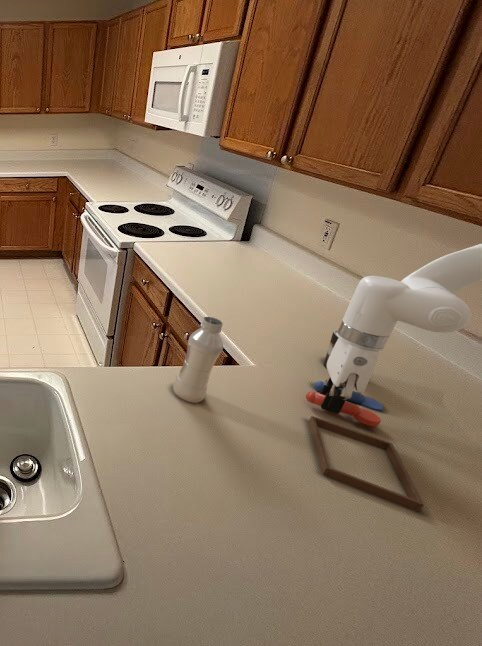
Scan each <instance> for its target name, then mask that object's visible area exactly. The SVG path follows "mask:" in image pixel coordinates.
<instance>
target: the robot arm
mask: <svg viewBox="0 0 482 646" xmlns="http://www.w3.org/2000/svg"><path fill="white" fill-rule="evenodd" d="M479 283H482V243H478V244H476V245H472V246H470V247H467V248H464V249H460V250H457V251H454V252H451V253H448V254H445V255H443V256H441V257H438V258H437V259H434V260H432V261H431V262H429V263H427V264H425V265H424V266H422V267H420V268H418V269H417V270H415V271H413V272H412V273H410V274H408V275H407V276H406V277H404V278H403V279H402V280H397V279H394V278H391V277H386V276H381V275H366V276H364V277H362V278H361V279H360V281H359V282H358V284H357V286H356V289H355V291H354V293H353V295H352V297H351V300H350V301H349V304H348V306H347V308H346V311H345V313H344V315H343V318H342V320H341V322H340V324H339V326H338V328H337V329H338V331H337V333H336V335H337V337H338V340H337V342H336V344H335V346H334V347H333V349H332V352H331V354H330V356H329V358H328V361H327V369H326V370H327V373H328V375H327V377H326V379H325V381H324V382H325V384H326V385H324V386H323V388H322V390H321V392H319V393H320V394H323V395H326V396H325V398H324V400H323V403H322V405H321V406H320V408H321V409H322V410H323V411H326V412H330V413H333V414H336V415H339V414H340V413H341V412H340V411H341V409H342V407H343V405H344V403H345V401H346V402H347V398H349V399H350V398H351V396H352V392H353V391H354V389H355V392H358V393H360V394H362V395H363V394H364V393H365V391H366V389H367V387H368V384H369V382H370V379H371V377H372V374H373V373H374V369H375V367H376V364H377V361H378V358H379V353H380V352H381V351H383V350H384V349H385V347H386V345H387V342H388V341H389V339H390V336H391V335H392V333H393V331H394V329H395V327H396V325H397V323H398V322H402V323H404V324H408V325H411V326H413V327H416V328H419V329H422V330H425V331H429V332H434V333H443V334H445V333H453V332H457V331H461V330H462V329H464V328H465V327H467V326H468V325H469V323H470V322H471V319H472V311H471V308H470V307H469V306H468V305H467V303H466V301H464V300H463V299H461V298H460V297H459V296H457V295H456V293H458V292H460V291H462V290H464V289H466V288H468V287H470V286H473V285H476V284H479ZM341 388H342V389H343V390H341Z"/></svg>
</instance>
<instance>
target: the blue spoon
mask: <svg viewBox="0 0 482 646" xmlns="http://www.w3.org/2000/svg"><path fill="white" fill-rule="evenodd" d="M324 385H326V384H325V381H321V380H318V381H316V382H315V383H314V384H313V387H314V390H315V391H317V393H321V390H322V388H323V386H324ZM341 390H343V389H342V388H341ZM346 402H349V403H353V404H356V405H357V406H359V407H362V408H365V409H368V410H373V411H376V412H379V413H382V412H383V411H384V405H382V404H381V403H380V402H379V401H377V400H375V399H373V398H370V397H367V396H364V395H363V393H362V394H360V393H358V392H357V391H356V390H353V392H352V396H351V398H350V399H349V398H347V400H346Z"/></svg>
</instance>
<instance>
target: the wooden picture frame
mask: <svg viewBox="0 0 482 646" xmlns="http://www.w3.org/2000/svg"><path fill="white" fill-rule="evenodd" d="M308 425H309V430H310V433H311V436H312V440H313V444H314V447H315V451H316V455H317V459H318V462H319V466H320V470H321V474H322V475H323V476H325V477H327V478H331V479H334V480H335V481H339V482H340V483H343V484H346V485H349V486H351V487H354V488H357V489H359V490H362V491H364V492H367V493H369V494H372V495H374V496H377V497H380V498H383V499H385V500H387V501H390V502H392V503H395V504H398V505H400V506H402V507H405V508H408V509H411V510H413V511H416V512H420V511H421V510H422V508H424V506H425V505H424V503H423V500H422V499H421V496H420V494H419V492H418V491H417V488H416V486H415V485H414V482H413V481H412V479H411V477H410V475H409V473H408V471H407V469H406V467H405V465H404V463H403V461H402V460H401V458H400V455H399V454H398V452H397V450H396V448H395V445H394V444H393V442H390V441H387V440H383V439H381V438H378V437H376V436H373V435H370V434H366V433H363V432H360V431H357V430H354V429H352V428H349V427H346V426H343V425H340V424H337V423H334V422H331V421H328V420H326V419H322V418H319V417H317V416H313V415H311V416H310V418H309V419H308ZM319 428H321V429H324V430H326V431H330V432H333V433H335V434H339V435H341V436H344V437H347V438H350V439H353V440H356V441H358V442H361V443H365V444H367V445H371V446H373V447H376V448H379V449H382V450H384V451H385V452H386V454H387V456H388V458H389V460H390V461H391V464H392V466H393V469H394V470H395V473H396V475H397V477H398V479H399V481H400V483H401V485H402V487H403V489H404V491H405V493H406V495H407V496H406V495H404V494H401V493H399V492H396V491H393V490H391V489H389V488H386V487H384V486H380V485H378V484H375V483H372V482H370V481H368V480H364V479H362V478H360V477H356V476H354V475H351V474H349V473H346V472H344V471H341V470H338V469H335V468H333V467H330V464H329V460H328V457H327V454H326V450H325V447H324V443H323V440H322V437H321V433H320V430H319Z"/></svg>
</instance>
